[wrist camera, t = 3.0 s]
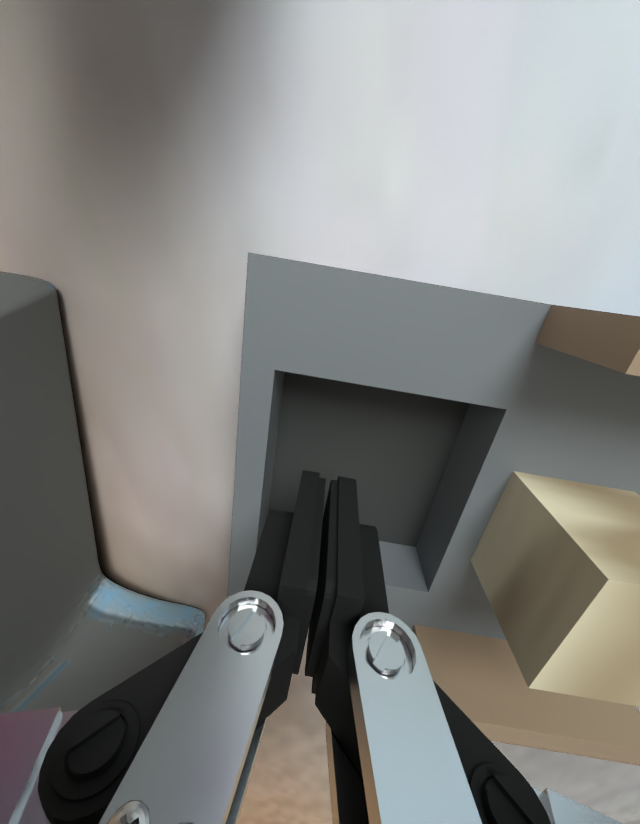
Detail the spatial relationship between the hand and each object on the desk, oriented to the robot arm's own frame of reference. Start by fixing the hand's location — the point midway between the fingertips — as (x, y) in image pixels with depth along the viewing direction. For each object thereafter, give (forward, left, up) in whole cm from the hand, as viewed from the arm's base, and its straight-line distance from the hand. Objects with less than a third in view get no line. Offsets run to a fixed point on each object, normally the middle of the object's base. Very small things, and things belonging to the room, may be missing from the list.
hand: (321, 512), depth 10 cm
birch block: (-8, 0, -1) cm, 8 cm away
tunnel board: (-8, 0, -4) cm, 9 cm away
